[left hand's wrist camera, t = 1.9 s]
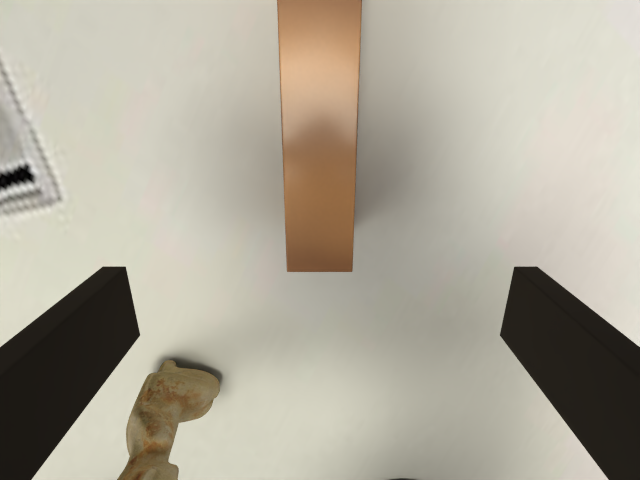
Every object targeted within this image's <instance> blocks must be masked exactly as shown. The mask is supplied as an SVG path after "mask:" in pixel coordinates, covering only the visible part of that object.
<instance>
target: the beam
mask: <svg viewBox="0 0 640 480" xmlns="http://www.w3.org/2000/svg"><path fill="white" fill-rule="evenodd" d="M277 6H278V34H279V62H280V90H281V118H282V145H283V173H284V201H285V229H286V257H287V272H352V266H353V237H354V209H355V180H356V152H357V123H358V95H359V66H360V38H361V10H362V0H277Z"/></svg>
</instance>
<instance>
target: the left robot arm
mask: <svg viewBox="0 0 640 480" xmlns="http://www.w3.org/2000/svg"><path fill="white" fill-rule="evenodd" d="M139 336H140V333H139V328H138V323H137V318H136V314H135V309H134V304H133V299H132V295H131V290H130V285H129V280H128V276H127V271H126V267H102V268H101V269H99V270H98V271H97V272H96V273H94V274H93V275H92V276H91V277H89V278H88V279H87V280H85V281H84V282H83V283H82V284H80V285H79V286H78V287H76V288H75V289H74V290H73V291H71V292H70V293H69V294H68V295H66V296H65V297H64V298H62V299H61V300H60V301H59V302H57V303H56V304H55V305H54V306H52V307H51V308H50V309H48V310H47V311H46V312H45V313H43V314H42V315H41V316H40V317H38V318H37V319H36V320H34V321H33V322H32V323H31V324H29V325H28V326H27V327H26V328H24V329H23V330H22V331H20V332H19V333H18V334H17V335H15V336H14V337H13V338H12V339H10V340H9V341H8V342H6V343H5V344H4V345H3V346H1V347H0V480H31V479H32V478H33V477H34V475H35V474H36V473H37V471H38V470H39V469H40V467H41V466H42V465H43V463H44V462H45V461H46V459H47V458H48V457H49V455H50V454H51V453H52V451H53V450H54V449H55V447H56V446H57V445H58V443H59V442H60V441H61V439H62V438H63V437H64V435H65V434H66V433H67V431H68V430H69V429H70V428H71V426H72V425H73V424H74V422H75V421H76V420H77V418H78V417H79V416H80V414H81V413H82V412H83V410H84V409H85V408H86V406H87V405H88V404H89V402H90V401H91V400H92V398H93V397H94V396H95V394H96V393H97V392H98V390H99V389H100V388H101V386H102V385H103V384H104V382H105V381H106V380H107V378H108V377H109V376H110V374H111V373H112V372H113V370H114V369H115V368H116V366H117V365H118V364H119V362H120V361H121V360H122V359H123V357H124V356H125V355H126V353H127V352H128V351H129V349H130V348H131V347H132V345H133V344H134V343H135V341H136V340H137V339H138V337H139ZM500 336H501V337H502V339H503V340H504V341H505V343H506V344H507V345H508V347H509V348H510V349H511V351H512V352H513V353H514V355H515V356H516V357H517V359H518V360H519V361H520V362H521V364H522V365H523V366H524V368H525V369H526V370H527V372H528V373H529V374H530V376H531V377H532V378H533V380H534V381H535V382H536V384H537V385H538V386H539V388H540V389H541V390H542V392H543V393H544V394H545V396H546V397H547V398H548V400H549V401H550V402H551V404H552V405H553V406H554V408H555V409H556V410H557V412H558V413H559V414H560V416H561V417H562V418H563V420H564V421H565V422H566V424H567V425H568V426H569V428H570V429H571V430H572V431H573V433H574V434H575V435H576V437H577V438H578V439H579V441H580V442H581V443H582V445H583V446H584V447H585V449H586V450H587V451H588V453H589V454H590V455H591V457H592V458H593V459H594V461H595V462H596V463H597V465H598V466H599V467H600V469H601V470H602V471H603V473H604V474H605V475H606V477H607V478H608V479H609V480H640V347H639V346H637V345H636V344H635V343H634V342H632V341H631V340H630V339H628V338H627V337H626V336H625V335H623V334H622V333H621V332H620V331H618V330H617V329H616V328H614V327H613V326H612V325H611V324H609V323H608V322H607V321H606V320H604V319H603V318H602V317H600V316H599V315H598V314H597V313H595V312H594V311H593V310H592V309H590V308H589V307H588V306H586V305H585V304H584V303H583V302H581V301H580V300H579V299H578V298H576V297H575V296H574V295H572V294H571V293H570V292H569V291H567V290H566V289H565V288H564V287H562V286H561V285H560V284H558V283H557V282H556V281H555V280H553V279H552V278H551V277H549V276H548V275H547V274H546V273H544V272H543V271H542V270H541V269H539V268H538V267H514V271H513V276H512V280H511V285H510V290H509V295H508V299H507V304H506V309H505V314H504V318H503V323H502V328H501V333H500Z"/></svg>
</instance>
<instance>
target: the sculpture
mask: <svg viewBox="0 0 640 480" xmlns="http://www.w3.org/2000/svg"><path fill="white" fill-rule="evenodd" d="M219 391H220V385H219V381H218V380H217V378H216V377H215V376H213V375H212V374H210V373H208V372H205V371H202V370H196V369H186V368H178V367H176V362H175V361H172V360H167V361H165V362H164V363H163V364H162V365H161V367H160V369H159V371H158V373H151V374H149V375H148V376H147V378H146V380H145V382H144V384H143V386H142V388H141V390H140V393H139V395H138V397H137V400H136V402H135V404H134V406H133V409H132V412H131V414H130V417H129V420H128V424H127V429H126V438H127V448H128V452H129V455H130V457H129V461H128V463H127V465H126V467H125V469H124V470H123V472H122V473H121V475H120V476H119V478H118V479H117V480H178V479H177V478H178V472H179V470H178V467H177V466H176V465H173V464H170V463H169V462H168V459H169V455H170V452H171V448H172V445H173V442H174V438H175V435H176V431H177V427H178V423H181V422H186V421H190V420H194V419H198V418H200V417H202V416H203V415H205V414H206V413H207V412H208V411H209V409H210V408H211V406H212V403H213V399H214V398H215V397H217V395H218V393H219Z"/></svg>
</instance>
